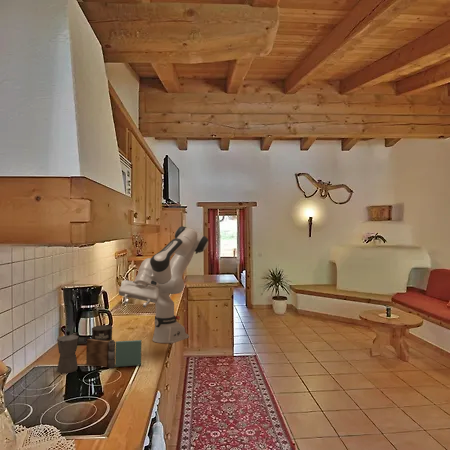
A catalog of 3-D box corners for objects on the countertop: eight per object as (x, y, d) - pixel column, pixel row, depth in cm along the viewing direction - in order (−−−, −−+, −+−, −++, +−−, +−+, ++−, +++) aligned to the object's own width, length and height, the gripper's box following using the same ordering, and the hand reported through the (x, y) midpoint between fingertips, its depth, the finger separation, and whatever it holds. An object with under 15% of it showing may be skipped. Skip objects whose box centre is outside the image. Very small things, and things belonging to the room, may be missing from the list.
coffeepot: (68, 376, 162) (69, 336, 162) (49, 374, 163) (50, 334, 163) (86, 363, 177) (87, 326, 177) (69, 362, 178) (69, 325, 178)
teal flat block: (107, 367, 171) (108, 343, 171) (108, 365, 174) (108, 341, 174) (141, 365, 174) (141, 341, 174) (141, 363, 177) (141, 339, 177)
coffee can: (111, 356, 187) (112, 329, 187) (90, 358, 184) (90, 330, 184) (112, 350, 196) (112, 324, 197) (92, 351, 194) (92, 325, 194)
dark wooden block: (85, 364, 175) (85, 338, 176) (89, 362, 178) (89, 336, 178) (112, 368, 171) (112, 341, 171) (116, 366, 174) (116, 339, 174)
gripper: (123, 275, 188) (114, 296, 178) (161, 283, 190) (155, 305, 179) (122, 283, 192) (114, 304, 182) (160, 291, 194) (154, 312, 184)
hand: (135, 304), depth 181 cm, fingers open, 8 cm apart
